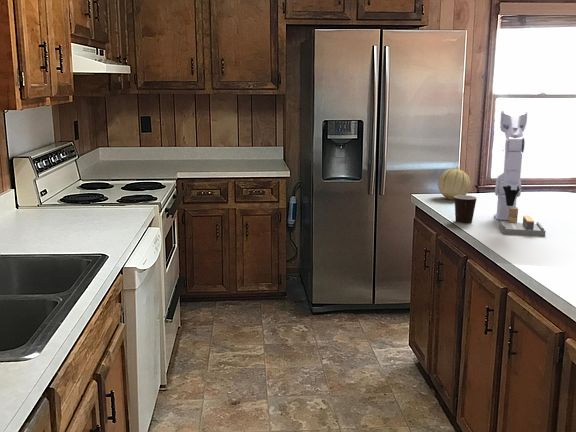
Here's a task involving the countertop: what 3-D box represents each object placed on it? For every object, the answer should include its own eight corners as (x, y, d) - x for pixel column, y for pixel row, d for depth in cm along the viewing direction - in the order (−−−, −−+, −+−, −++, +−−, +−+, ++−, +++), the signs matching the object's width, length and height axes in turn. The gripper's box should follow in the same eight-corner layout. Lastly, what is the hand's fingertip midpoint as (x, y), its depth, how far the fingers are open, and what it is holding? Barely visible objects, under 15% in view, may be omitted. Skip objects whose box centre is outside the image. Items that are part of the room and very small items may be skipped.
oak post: (507, 224, 254) (509, 206, 252) (515, 224, 253) (517, 207, 252) (508, 225, 251) (510, 208, 249) (516, 226, 250) (518, 208, 249)
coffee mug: (458, 218, 264) (459, 194, 261) (478, 221, 258) (480, 197, 256) (445, 223, 255) (447, 198, 253) (466, 226, 249) (467, 201, 247)
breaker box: (498, 227, 249) (499, 220, 248) (539, 229, 246) (540, 222, 245) (502, 234, 238) (503, 226, 238) (545, 236, 235) (545, 228, 235)
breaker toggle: (522, 223, 246) (523, 215, 245) (529, 223, 245) (530, 216, 245) (526, 228, 237) (527, 220, 236) (533, 229, 237) (534, 221, 236)
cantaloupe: (436, 201, 299) (437, 169, 296) (438, 195, 313) (440, 164, 309) (468, 203, 295) (471, 170, 291) (469, 197, 308) (471, 166, 305)
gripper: (499, 166, 246) (496, 201, 249) (503, 172, 232) (500, 209, 235) (518, 167, 244) (515, 202, 247) (524, 173, 230) (521, 210, 233)
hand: (509, 205), depth 241 cm, fingers closed
